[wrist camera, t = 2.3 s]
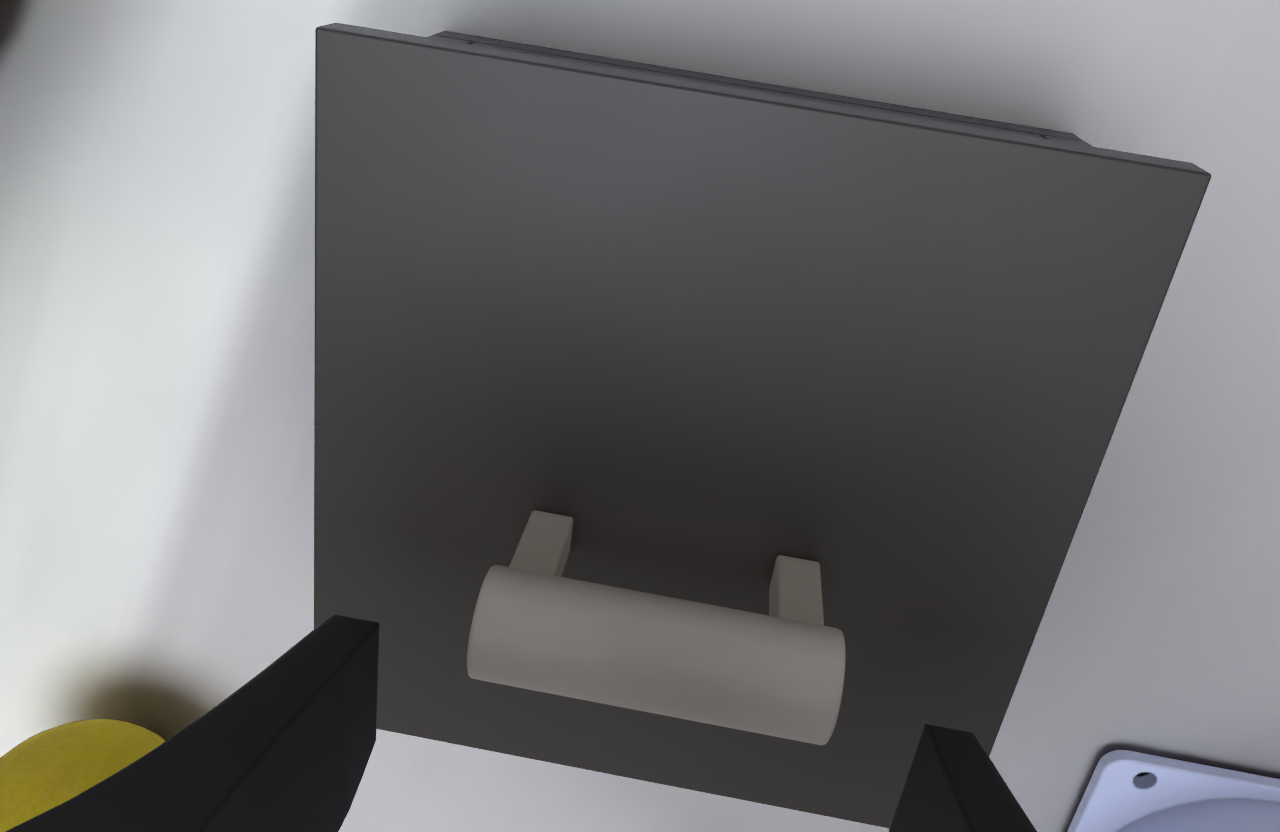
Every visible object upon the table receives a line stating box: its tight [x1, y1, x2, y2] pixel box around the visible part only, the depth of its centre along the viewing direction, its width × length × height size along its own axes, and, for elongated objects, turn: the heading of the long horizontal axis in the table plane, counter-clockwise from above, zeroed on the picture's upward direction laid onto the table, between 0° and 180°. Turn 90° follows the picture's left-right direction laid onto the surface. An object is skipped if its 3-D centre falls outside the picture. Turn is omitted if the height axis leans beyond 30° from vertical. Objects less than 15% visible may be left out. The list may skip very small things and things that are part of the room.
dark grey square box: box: [426, 31, 1092, 147], centre depth 20 cm, size 12×12×5 cm
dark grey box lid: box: [314, 23, 1211, 828], centre depth 15 cm, size 12×12×4 cm
